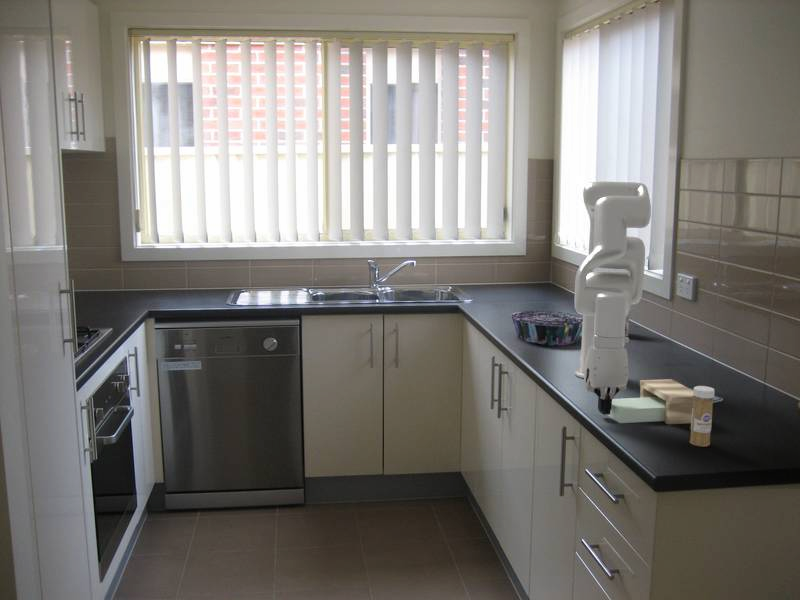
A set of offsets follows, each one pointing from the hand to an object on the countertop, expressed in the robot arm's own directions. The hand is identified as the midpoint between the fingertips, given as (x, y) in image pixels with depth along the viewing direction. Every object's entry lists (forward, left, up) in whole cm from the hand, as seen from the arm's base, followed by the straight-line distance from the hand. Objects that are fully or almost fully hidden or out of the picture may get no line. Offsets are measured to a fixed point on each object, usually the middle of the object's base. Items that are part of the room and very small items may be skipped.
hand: (604, 412), depth 214 cm
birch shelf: (0, +18, -1) cm, 18 cm away
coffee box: (-93, +47, -2) cm, 104 cm away
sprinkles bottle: (+22, +14, -2) cm, 26 cm away
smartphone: (-15, +34, -2) cm, 37 cm away
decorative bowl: (-89, +20, -2) cm, 92 cm away
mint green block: (0, +10, -1) cm, 10 cm away
